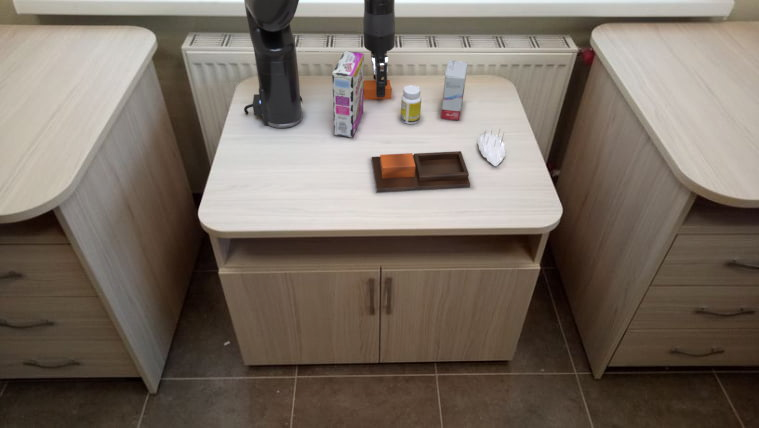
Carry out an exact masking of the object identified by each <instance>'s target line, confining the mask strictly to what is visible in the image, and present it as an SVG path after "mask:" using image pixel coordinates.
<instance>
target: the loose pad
mask: <svg viewBox="0 0 759 428" xmlns="http://www.w3.org/2000/svg"><path fill="white" fill-rule="evenodd" d="M375 81H376V80H374V79H372V80H371V79H370V80H364V84H363V101H366V100H367V101H369V100H391V99H392V85H391V80H390V79H387V86H385V97H377V96H376V83H375Z"/></svg>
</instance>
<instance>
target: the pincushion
mask: <svg viewBox="0 0 759 428" xmlns="http://www.w3.org/2000/svg"><path fill="white" fill-rule="evenodd" d="M498 131H499V132H501V129H499V130H498ZM492 132H493V131H491V132H487V131H484V133H482V134H481V135H479V136H478V137H477V145H478V149H479V152H480V153H481V155H482V157H483V158H485V159H486V160H487V162H489V163H490V164H491V165H492V166H493V167H498V165H500V163H501V162H503V159H504V158H505V157H506V154H507V147H506V144H505V142H504V140H503V139H504V138H502V137H500V136H499V135H500V134H498V135H497V134H494V133H492ZM504 134H505V133H503V134H502V136H504Z"/></svg>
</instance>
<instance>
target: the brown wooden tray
mask: <svg viewBox="0 0 759 428" xmlns="http://www.w3.org/2000/svg"><path fill="white" fill-rule="evenodd" d="M371 165H372V172H373V178H374V184H375V193H379V194H380V193H396V192H413V191H430V190H432V191H433V190H448V189H449V190H450V189H467V188H471V181H470V178H469V176H470V175H469V174H470V173H469V170H468V168H467V164H466V162H465V159H464V156H463V154H462V151H461V150H458V151H440V152H439V151H438V152H437V151H436V152H418V153H417V152H416V153H413V152H410V153H390V154H389V153H388V154H379V156H371Z"/></svg>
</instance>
